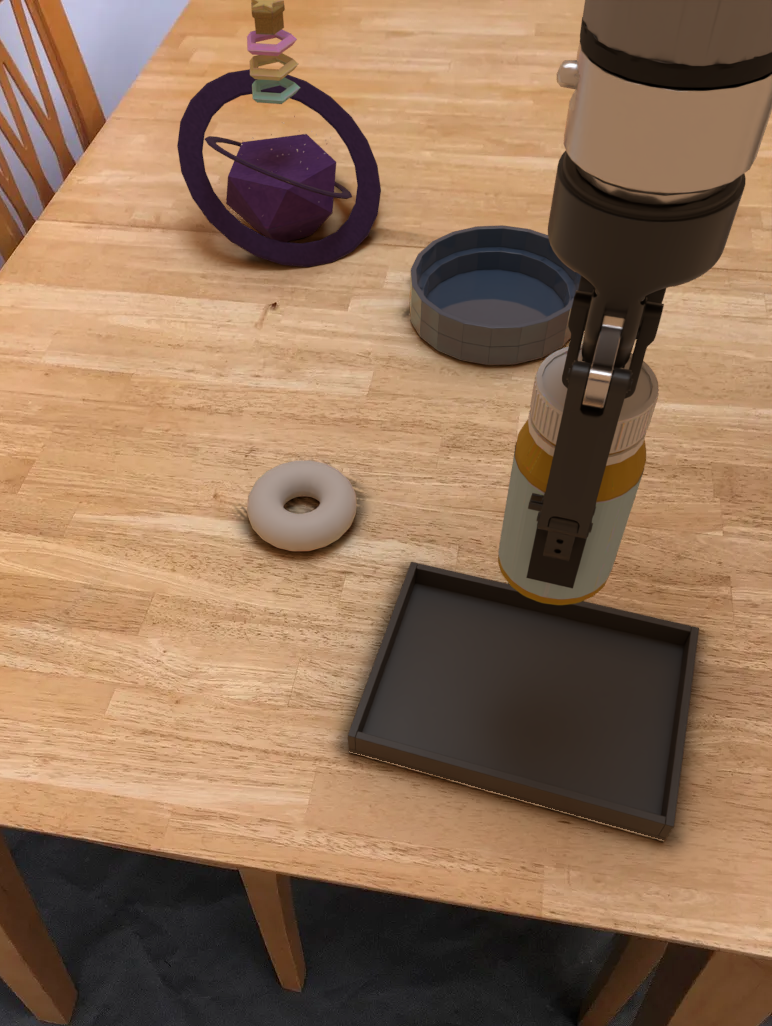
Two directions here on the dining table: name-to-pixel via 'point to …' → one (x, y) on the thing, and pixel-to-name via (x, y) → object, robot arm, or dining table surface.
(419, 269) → the bowl
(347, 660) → the dining table surface
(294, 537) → the donut
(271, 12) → the ringed planet model
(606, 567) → the bottle
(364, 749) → the tray
